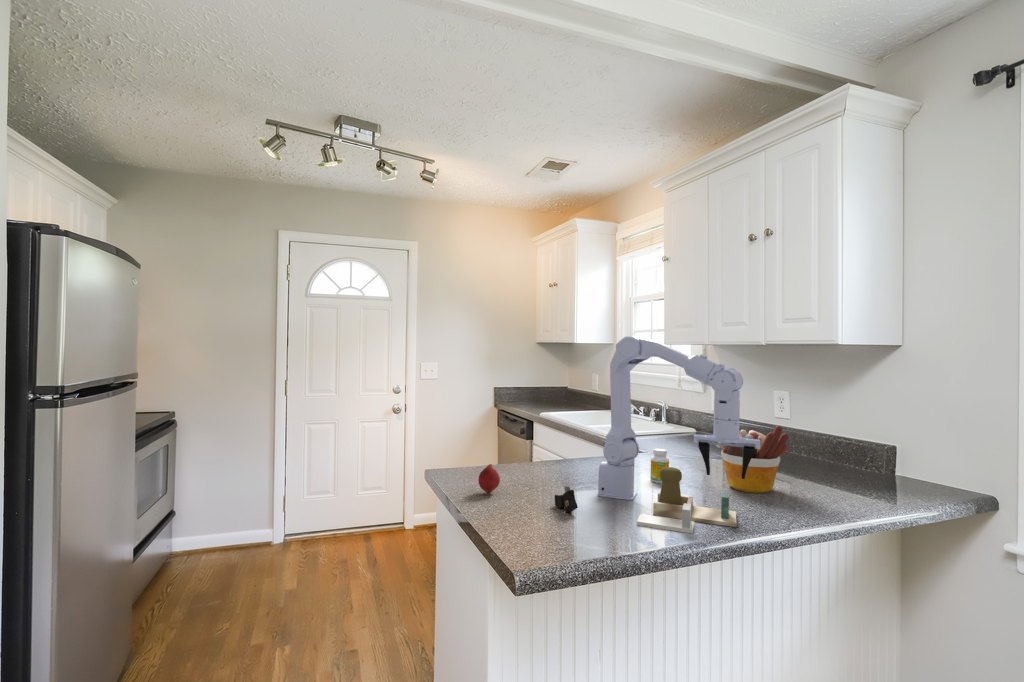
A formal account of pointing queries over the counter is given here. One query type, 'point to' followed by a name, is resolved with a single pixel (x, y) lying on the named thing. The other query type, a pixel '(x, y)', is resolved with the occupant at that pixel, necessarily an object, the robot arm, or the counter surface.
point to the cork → (670, 486)
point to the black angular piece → (566, 500)
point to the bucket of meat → (755, 461)
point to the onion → (489, 479)
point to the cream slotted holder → (698, 511)
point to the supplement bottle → (658, 464)
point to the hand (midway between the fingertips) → (725, 476)
